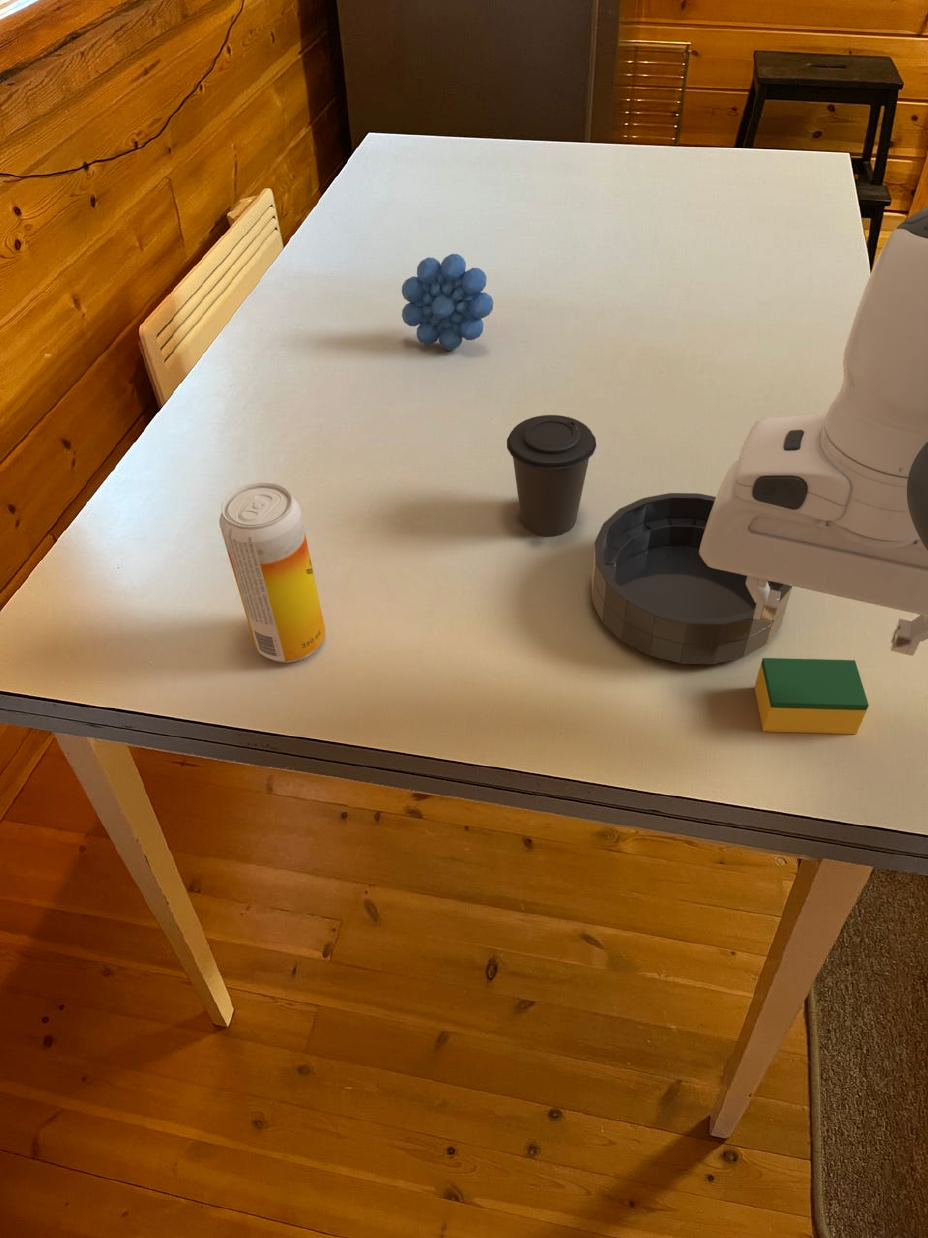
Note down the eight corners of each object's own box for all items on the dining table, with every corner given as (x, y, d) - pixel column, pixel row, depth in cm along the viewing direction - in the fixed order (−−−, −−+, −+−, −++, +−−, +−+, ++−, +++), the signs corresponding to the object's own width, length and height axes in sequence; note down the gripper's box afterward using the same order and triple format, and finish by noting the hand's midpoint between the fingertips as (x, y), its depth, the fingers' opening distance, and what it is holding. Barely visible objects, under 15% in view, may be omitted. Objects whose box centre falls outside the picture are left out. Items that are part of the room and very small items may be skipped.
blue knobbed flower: (505, 339, 114) (504, 242, 106) (487, 366, 110) (485, 268, 101) (418, 325, 118) (410, 231, 109) (397, 352, 113) (387, 255, 105)
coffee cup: (603, 506, 91) (611, 419, 84) (570, 555, 86) (575, 467, 79) (528, 484, 94) (530, 398, 87) (492, 531, 89) (490, 444, 82)
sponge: (843, 689, 74) (855, 659, 71) (856, 734, 71) (869, 705, 68) (754, 686, 74) (762, 657, 72) (762, 731, 71) (772, 702, 69)
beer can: (338, 624, 81) (311, 486, 70) (307, 674, 77) (274, 536, 66) (275, 610, 82) (240, 473, 72) (243, 658, 78) (200, 521, 68)
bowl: (765, 540, 86) (777, 493, 83) (797, 673, 75) (813, 626, 71) (588, 537, 88) (592, 491, 84) (594, 668, 76) (598, 621, 72)
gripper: (1076, 477, 55) (990, 636, 65) (730, 416, 61) (699, 570, 71) (1082, 543, 51) (989, 702, 61) (711, 470, 57) (681, 626, 67)
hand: (831, 630), depth 66 cm, fingers open, 8 cm apart
